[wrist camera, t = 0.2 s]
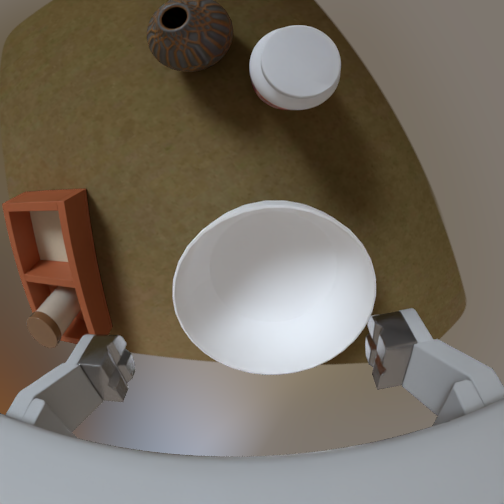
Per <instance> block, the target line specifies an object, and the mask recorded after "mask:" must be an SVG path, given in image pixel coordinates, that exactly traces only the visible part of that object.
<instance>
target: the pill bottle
mask: <svg viewBox="0 0 504 504" xmlns="http://www.w3.org/2000/svg"><path fill="white" fill-rule="evenodd" d="M249 70H250V77H251V82H252V86H253V89H254V91H255V92H256V94H257V95H258V97H259V98H260V99H261V100H262V101H263V102H265V103H266V104H268V105H269V106H271V107H274V108H277V109H281V110H304V109H309V108H313V107H315V106H318V105H320V104H321V103H323V102H324V101H326V100H327V99H328V98H329V97H330V96H331V95H332V94H333V92H334V91H335V89H336V87H337V85H338V82H339V79H340V70H341V58H340V54H339V51H338V49H337V47H336V45H335V44H334V42H333V41H332V40H331V39H330V38H329V37H328V36H327V35H326V34H324V33H323V32H322V31H320V30H318V29H315V28H313V27H309V26H304V25H293V26H288V27H284V28H279V29H276V30H274V31H272V32H270V33H268V34H266V35H265V36H264V37H262V38H261V39H260V40H259V42H258V43H257V44H256V46H255V47H254V49H253V51H252V54H251V57H250V64H249Z"/></svg>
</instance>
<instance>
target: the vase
mask: <svg viewBox="0 0 504 504" xmlns="http://www.w3.org/2000/svg"><path fill="white" fill-rule="evenodd" d="M232 39H233V26H232V22H231V19H230V17H229V15H228V13H227V12H226V11H225V9H224V8H223V7H222V6H221V5H219V4H218V3H217V2H215V1H213V0H170V1H168V2H166V3H165V4H163V5H162V6H161V7H160V8H159V9H158V10H157V11H156V12H155V13H154V15H153V16H152V18H151V20H150V22H149V25H148V29H147V41H148V45H149V48H150V50H151V52H152V54H153V55H154V56H155V58H156V59H157V60H158V61H159V62H160V63H162V64H163V65H165V66H167V67H169V68H171V69H174V70H177V71H183V72H195V71H200V70H204V69H206V68H209V67H211V66H212V65H214V64H216V63H217V62H218V61H220V60H221V59H222V58H223V57H224V55H225V54H226V53H227V51H228V50H229V48H230V46H231V43H232Z"/></svg>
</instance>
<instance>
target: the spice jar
mask: <svg viewBox="0 0 504 504" xmlns="http://www.w3.org/2000/svg"><path fill="white" fill-rule="evenodd" d="M80 311H81V308H80V304H79V301H78V297H77V294H76V290H75V288H71V287H63V286H58V287H57V288H56V289H55V290H54V291H53V292H52V293H51V294H50V295H49V296H48V298H47V299H46V300H45V301H44V302H43V303H42V304H41V305H40V307H39V308H38V309H37V310H36V311H35V312H33V313H32V315H31V316H30V317H29V318H28V320H27V328H28V330H29V332H30V334H31V335H32V337H33V338H34V339H35V340H36V341H37V342H38V343H40V344H41V345H43V346H44V347H47V348H54V347H56V346H57V344H58V343H59V341H60V340H61V337H62V336H63V334H64V333H65V331H66V330H67V329H68V327H69V326H70V324H71V323H72V322H73V320H74V319H75V317H76V316H77V315H78V313H79V312H80Z"/></svg>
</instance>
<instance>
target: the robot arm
mask: <svg viewBox="0 0 504 504" xmlns="http://www.w3.org/2000/svg"><path fill="white" fill-rule="evenodd" d="M367 327H368V329H369V332H370V333H369V334H368V335H367V336H366V342H365V349H366V356H367V360H368V363H369V365H371V366H372V367H373V373H372V375H373V378H374V381H375V384H376V387H377V389H384V388H388V387H394V386H399V385H402V387H403V388H405V389H406V390H407V391H408V392H409V393H411V394H412V395H413V396H414V397H415V398H417V399H418V400H419V401H420V402H422V403H423V404H424V405H425V406H426V407H427V408H429V409H430V410H431V411H432V412H433V413H434V414H436V415H437V416H438V417H437V419H436V420H435V422H434V424H433V425H432V427H429V428H425V429H422V430H419V431H415V432H412V433H408V434H404V435H400V436H397V437H392V438H388V439H384V440H380V441H375V442H370V443H366V444H361V445H355V446H350V447H344V448H338V449H332V450H324V451H317V452H308V453H298V454H287V455H272V456H249V457H248V456H247V457H217V456H193V455H179V454H167V453H158V452H149V451H142V450H135V449H129V448H122V447H116V446H111V445H106V444H101V443H96V442H92V441H87V440H83V439H79V438H77V437H76V436H75V435H74V434H73V433H72V432H73V431H74V430H75V429H76V428H77V427H78V426H79V425H80V424H81V423H82V422H83V421H84V420H85V419H86V418H87V417H88V416H89V415H90V414H91V413H92V412H93V411H94V410H95V409H96V408H97V407H98V406H99V405H100V404H101V403H102V402H103V400H106V401H118V402H123V401H124V398H125V396H126V393H127V391H128V385H127V382H128V381H130V380H131V379H132V378H133V375H134V372H135V362H134V358H133V356H132V354H131V353H130V352H129V351H128V350H126V349H125V347H126V342H125V340H124V338H123V337H122V336H120V335H101V334H97V335H95V334H86V335H83V336H82V338H81V339H80V341H79V343H78V344H77V346H76V347H75V349H74V350H73V352H72V354H71V355H70V357H69V358H68V360H67V362H66V363H62V364H61V365H59V366H58V367H56V368H54V369H53V370H51V371H50V372H49V373H47V374H45V375H44V376H42V377H41V378H40V379H38V380H37V381H35V382H34V383H32V384H31V385H29V386H28V387H26V388H25V389H23V390H22V391H20V392H19V393H18V395H17V396H16V398H15V399H14V401H13V403H12V405H11V406H10V408H9V410H8V411H7V413H6V415H3V414H1V413H0V504H504V386H503V384H502V383H501V381H500V380H499V378H498V376H497V375H496V373H495V371H494V370H493V368H491V367H489V366H487V365H485V364H483V363H482V362H480V361H478V360H476V359H474V358H472V357H470V356H469V355H467V354H465V353H463V352H461V351H459V350H457V349H455V348H453V347H452V346H450V345H448V344H446V343H444V342H442V341H440V340H439V339H435V340H433V338H432V336H431V335H430V333H429V331H428V330H427V328H426V327H425V325H424V323H423V322H422V320H421V318H420V317H419V315H418V314H417V312H416V311H415V309H413V308H410V309H405V310H400V311H396V312H391V313H385V314H379V315H373V316H369V319H368V324H367Z"/></svg>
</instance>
